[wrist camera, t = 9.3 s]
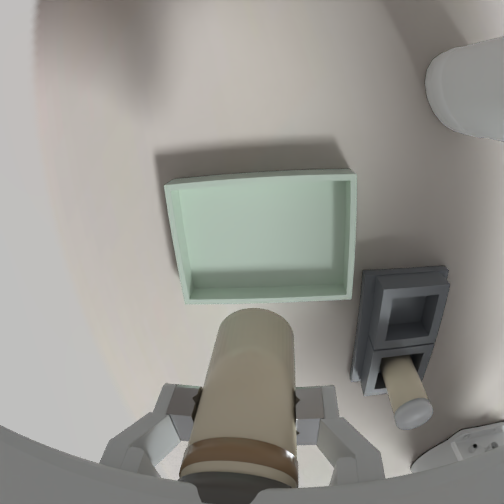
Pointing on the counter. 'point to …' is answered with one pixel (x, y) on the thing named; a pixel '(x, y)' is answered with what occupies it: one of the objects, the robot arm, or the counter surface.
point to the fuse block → (397, 320)
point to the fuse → (405, 392)
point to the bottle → (469, 89)
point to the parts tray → (264, 236)
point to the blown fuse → (245, 412)
